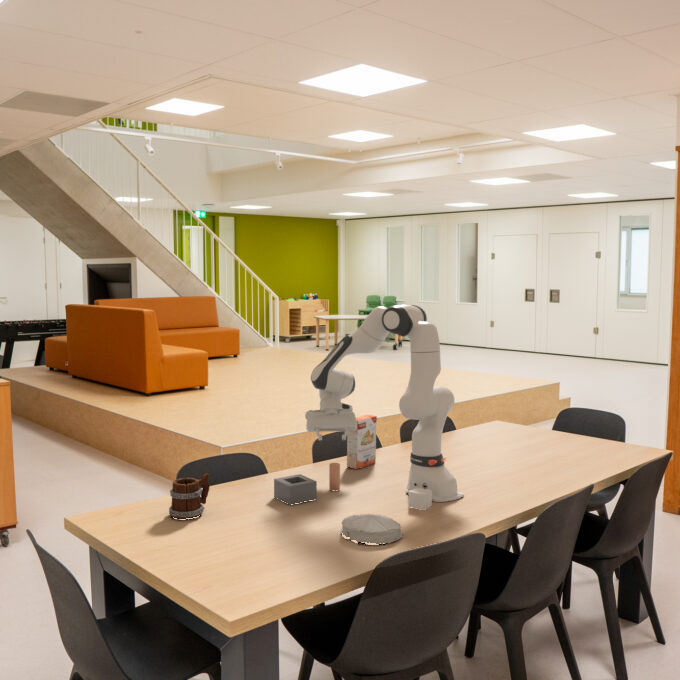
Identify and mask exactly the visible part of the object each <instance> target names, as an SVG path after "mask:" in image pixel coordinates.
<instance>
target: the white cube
mask: <svg viewBox="0 0 680 680" xmlns="http://www.w3.org/2000/svg"><path fill="white" fill-rule="evenodd" d="M432 503H433V501H432V490H428V489H423V488H418V487H417V488H415V489H413V490H411V491H409V494H408V508H409V507H413V508H417V509H421V510H425V509H427V508H428V509H430V508H431V507H430V506H432V505H433V504H432ZM429 507H430V508H429ZM428 509H427V510H428ZM421 510H420V511H421ZM425 511H426V510H425Z"/></svg>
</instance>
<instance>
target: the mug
mask: <svg viewBox="0 0 680 680" xmlns="http://www.w3.org/2000/svg"><path fill="white" fill-rule="evenodd" d="M209 477H210V473H208V472H207V473H205V472H204V474H203V475H202V476H201V477H200V478H199V479H197V478H195V477H186V478H184V477H181V478H177V479H175V480H173V481H172V488H171V489H170V490H169V493H170V497H171V505H170V506H169V507H168V514H169V515H170V517H171V516H172V517H174V518H177V519H186V518H193V517H197V516H199V515H201V514H202V515H203V512H204V511H205V506H204V505H205V504H206V503H207V498H208V494H209V491H210V487H211V485H210V481H209ZM200 486H201V487H200ZM202 515H201V516H202Z"/></svg>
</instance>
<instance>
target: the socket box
mask: <svg viewBox="0 0 680 680" xmlns="http://www.w3.org/2000/svg"><path fill="white" fill-rule="evenodd" d="M317 491H318V490H317V481H316V480H314V479H311V478H310V477H308V476H306V475H303V474H301V473H299V474H298V473H297V474H294V475H289V476H283V477H282V476H281V477H278V478H274V479H273V498H274V497H276V498H278V499H280V500H282V501H284V502H286V503H288V504H289V505H291V504H295V503H300V502H304V501H309V500H314V499H317ZM276 498H275V499H276ZM278 499H277V500H278ZM280 500H279V501H280ZM317 500H318V499H317ZM289 505H288V506H289Z"/></svg>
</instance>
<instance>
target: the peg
mask: <svg viewBox="0 0 680 680" xmlns="http://www.w3.org/2000/svg"><path fill="white" fill-rule="evenodd" d="M328 470H329V474H328V476H329V482H328V483H329V487H328V488H329V489H330V490H339V489H340V490H341V463H339V462H329V469H328ZM330 490H329V491H330Z"/></svg>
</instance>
